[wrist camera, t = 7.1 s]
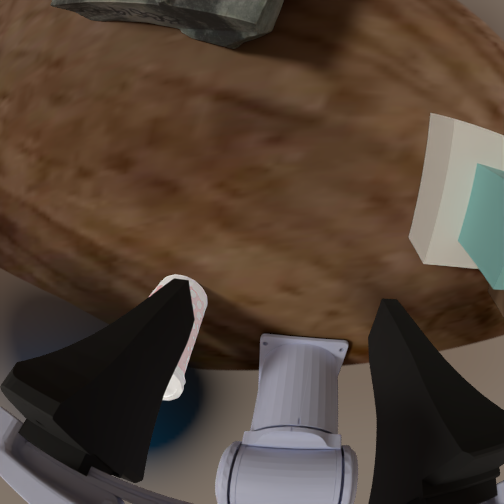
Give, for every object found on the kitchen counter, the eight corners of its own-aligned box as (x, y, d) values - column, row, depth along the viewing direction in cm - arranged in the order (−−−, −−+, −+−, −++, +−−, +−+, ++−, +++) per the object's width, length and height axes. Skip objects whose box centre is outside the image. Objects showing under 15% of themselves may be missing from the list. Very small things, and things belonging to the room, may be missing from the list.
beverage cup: (179, 327, 28) (121, 453, 16) (139, 281, 26) (55, 404, 14) (229, 310, 25) (179, 461, 14) (187, 256, 23) (97, 406, 11)
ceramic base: (496, 248, 18) (516, 272, 15) (408, 237, 19) (423, 263, 16) (523, 144, 13) (551, 156, 10) (430, 112, 14) (454, 118, 12)
